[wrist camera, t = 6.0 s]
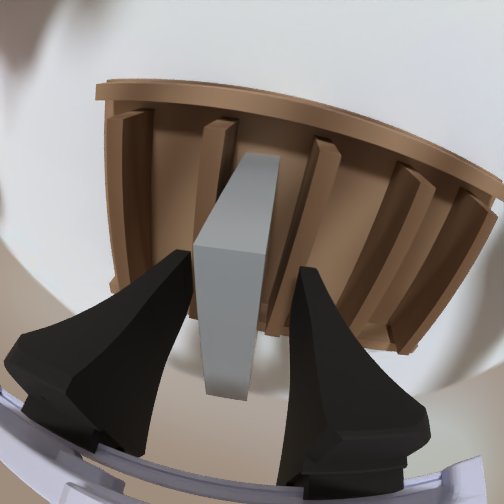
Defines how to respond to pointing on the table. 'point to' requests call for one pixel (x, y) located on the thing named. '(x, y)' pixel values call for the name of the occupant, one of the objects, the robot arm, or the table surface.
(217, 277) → the grey upright slab
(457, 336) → the table surface
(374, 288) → the dish rack
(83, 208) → the table surface
